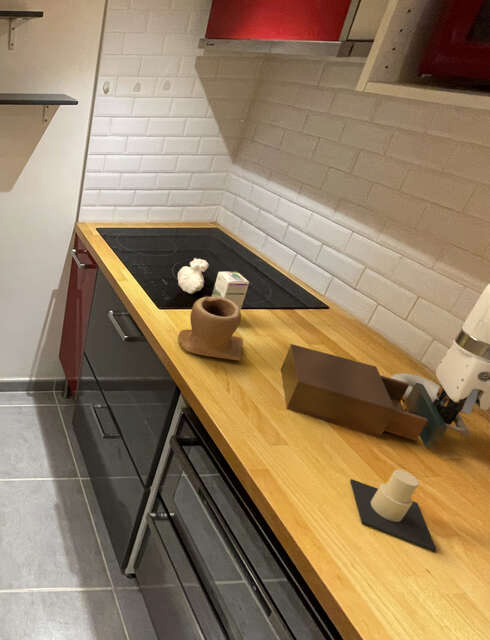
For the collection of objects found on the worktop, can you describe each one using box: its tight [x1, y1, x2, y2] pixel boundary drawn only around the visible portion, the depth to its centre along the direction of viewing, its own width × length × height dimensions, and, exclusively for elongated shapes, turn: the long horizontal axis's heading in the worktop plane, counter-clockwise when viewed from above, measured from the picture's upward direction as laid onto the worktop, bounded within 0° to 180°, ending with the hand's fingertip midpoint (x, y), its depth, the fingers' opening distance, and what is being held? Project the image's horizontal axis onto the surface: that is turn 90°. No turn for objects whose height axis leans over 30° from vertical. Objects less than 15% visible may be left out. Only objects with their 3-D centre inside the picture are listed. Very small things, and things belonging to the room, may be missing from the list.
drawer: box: [380, 374, 472, 450], centre depth 92 cm, size 19×13×6 cm
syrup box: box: [211, 271, 250, 311], centre depth 123 cm, size 6×6×14 cm
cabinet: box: [280, 343, 395, 439], centre depth 97 cm, size 16×15×8 cm
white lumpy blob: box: [177, 257, 210, 295], centre depth 141 cm, size 12×8×11 cm
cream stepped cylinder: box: [371, 468, 420, 522], centre depth 73 cm, size 4×4×8 cm
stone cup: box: [178, 296, 244, 361], centre depth 110 cm, size 15×12×15 cm
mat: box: [350, 478, 437, 553], centre depth 75 cm, size 9×9×1 cm
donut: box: [390, 372, 440, 402], centre depth 99 cm, size 10×3×10 cm
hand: (438, 418), depth 89 cm, fingers closed
